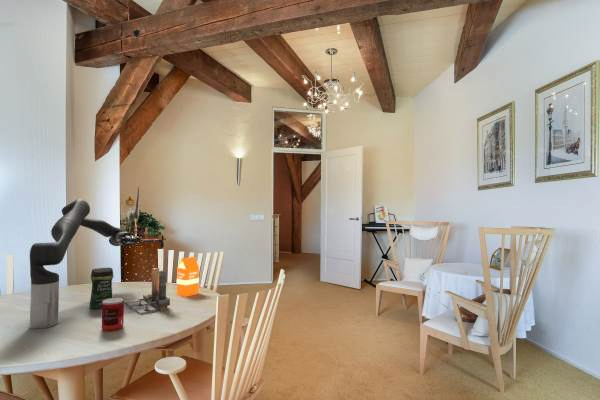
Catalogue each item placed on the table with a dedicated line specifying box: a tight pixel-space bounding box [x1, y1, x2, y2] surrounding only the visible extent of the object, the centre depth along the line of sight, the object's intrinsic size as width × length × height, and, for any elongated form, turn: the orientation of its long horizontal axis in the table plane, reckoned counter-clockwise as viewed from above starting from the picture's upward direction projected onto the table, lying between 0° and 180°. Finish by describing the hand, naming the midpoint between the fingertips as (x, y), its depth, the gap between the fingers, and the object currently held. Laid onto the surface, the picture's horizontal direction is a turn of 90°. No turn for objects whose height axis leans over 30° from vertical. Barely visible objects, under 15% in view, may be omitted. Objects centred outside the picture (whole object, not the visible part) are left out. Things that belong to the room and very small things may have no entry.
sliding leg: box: [138, 267, 160, 305], centre depth 168 cm, size 5×10×16 cm, turn 132°
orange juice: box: [176, 256, 200, 297], centre depth 191 cm, size 8×9×20 cm
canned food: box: [101, 297, 125, 332], centre depth 136 cm, size 8×8×11 cm
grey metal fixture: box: [124, 270, 171, 315], centre depth 167 cm, size 25×13×18 cm, turn 42°
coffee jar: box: [89, 267, 114, 310], centre depth 165 cm, size 10×8×19 cm
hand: (134, 240), depth 177 cm, fingers closed
